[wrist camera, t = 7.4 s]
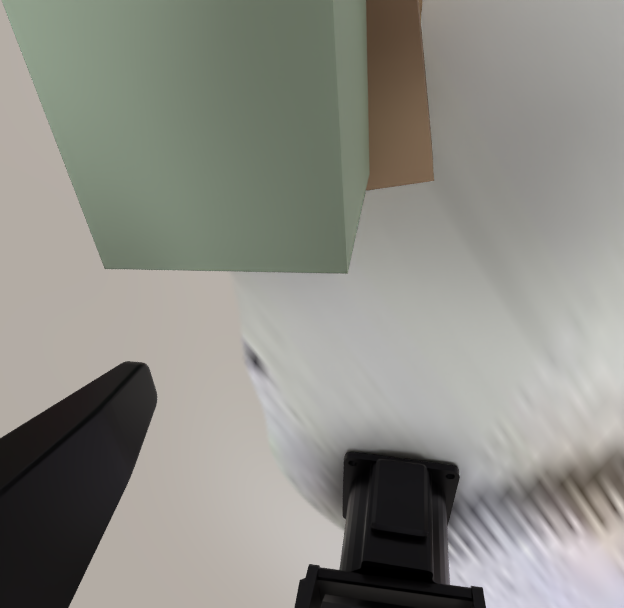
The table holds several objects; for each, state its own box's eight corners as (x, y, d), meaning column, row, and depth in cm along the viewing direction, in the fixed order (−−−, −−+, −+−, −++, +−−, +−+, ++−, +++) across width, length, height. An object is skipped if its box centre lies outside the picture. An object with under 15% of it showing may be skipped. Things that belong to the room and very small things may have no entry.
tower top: (431, 143, 15) (433, 180, 13) (225, 177, 17) (194, 215, 15) (404, -152, 12) (400, -178, 9) (144, -67, 13) (84, -69, 11)
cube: (369, 173, 13) (347, 273, 9) (193, 176, 14) (104, 268, 10) (364, -60, 10) (329, -60, 6) (144, -35, 11) (-8, -23, 7)
